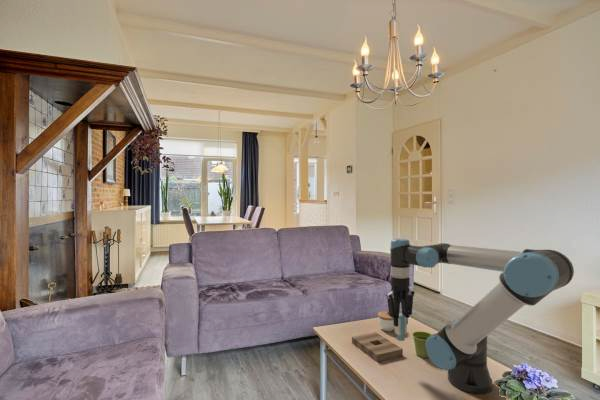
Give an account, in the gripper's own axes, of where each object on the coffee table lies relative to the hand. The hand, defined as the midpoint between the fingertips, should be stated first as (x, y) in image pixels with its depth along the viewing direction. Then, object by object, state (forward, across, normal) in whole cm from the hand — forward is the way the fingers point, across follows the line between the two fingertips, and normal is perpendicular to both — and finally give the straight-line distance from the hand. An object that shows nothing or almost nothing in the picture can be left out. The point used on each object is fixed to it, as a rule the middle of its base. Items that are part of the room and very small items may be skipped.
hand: (400, 332), depth 135 cm
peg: (+3, 0, 0) cm, 3 cm away
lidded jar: (+15, -21, -35) cm, 44 cm away
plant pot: (+15, -17, -5) cm, 23 cm away
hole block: (+14, -1, -18) cm, 23 cm away
